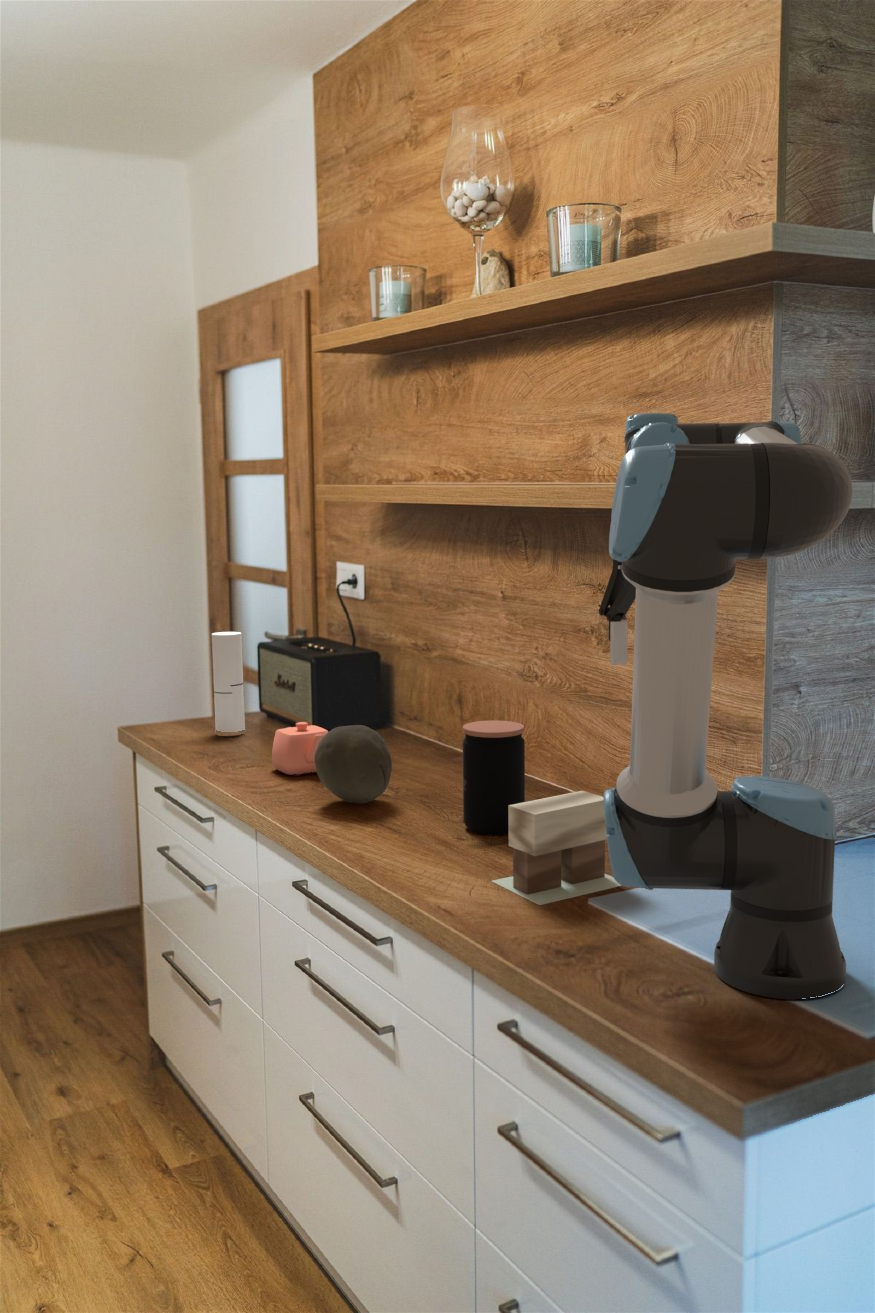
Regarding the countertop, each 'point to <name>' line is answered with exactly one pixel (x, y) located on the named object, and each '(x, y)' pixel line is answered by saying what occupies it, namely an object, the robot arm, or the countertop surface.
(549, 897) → the board
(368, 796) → the dark grey ball
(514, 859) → the post
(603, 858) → the post
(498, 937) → the countertop surface
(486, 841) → the countertop surface
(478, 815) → the coffee jar
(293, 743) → the teapot
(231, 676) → the cylindrical container
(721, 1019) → the countertop surface
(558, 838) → the lintel
